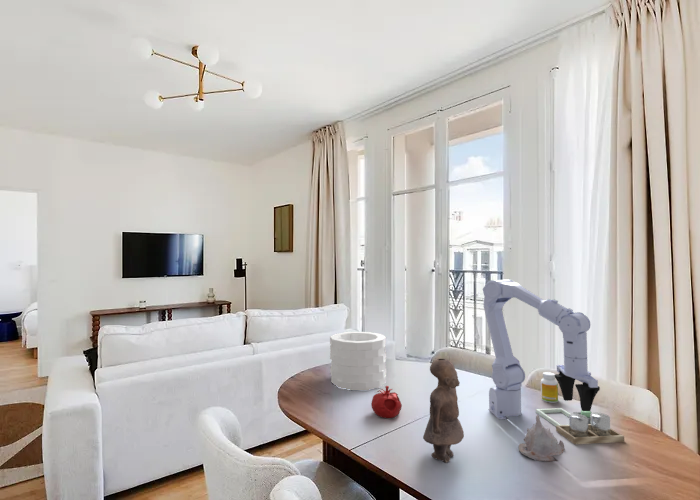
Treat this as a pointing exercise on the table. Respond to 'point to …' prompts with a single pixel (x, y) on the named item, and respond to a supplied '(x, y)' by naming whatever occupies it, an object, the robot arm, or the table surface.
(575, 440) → the divided tray
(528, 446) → the seashell
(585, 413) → the button
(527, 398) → the table surface
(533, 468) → the table surface
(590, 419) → the frame
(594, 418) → the cylinder
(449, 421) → the clay figurine
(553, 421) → the pale green tray
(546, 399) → the supplement bottle
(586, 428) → the billet
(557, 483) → the table surface
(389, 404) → the pomegranate
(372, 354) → the basket
